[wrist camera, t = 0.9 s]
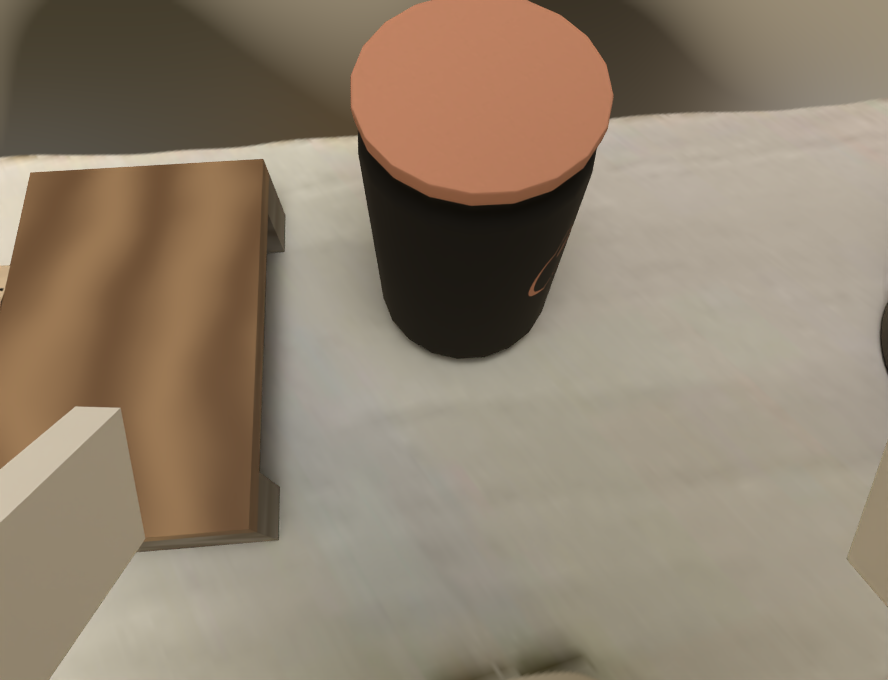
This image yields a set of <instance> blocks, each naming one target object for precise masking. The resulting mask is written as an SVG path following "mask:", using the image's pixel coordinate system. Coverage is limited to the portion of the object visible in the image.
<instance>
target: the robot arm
mask: <svg viewBox="0 0 888 680" xmlns="http://www.w3.org/2000/svg"><path fill="white" fill-rule="evenodd" d="M881 336H882V349H883V354H884V358H885V362H886V366H887V368H888V304H887V307H886V310H885V313H884V317H883V322H882V332H881ZM144 540H145V534H144V529H143V524H142V518H141V513H140V508H139V503H138V497H137V492H136V487H135V481H134V476H133V471H132V466H131V460H130V455H129V450H128V444H127V439H126V434H125V428H124V423H123V418H122V413H121V408H110V407H77V406H75V407H74V408H73V409H72V410H71V411H69V412H68V413H67V414H66V415H65V416H63V417H62V418H61V419H60V420H59V421H57V422H56V423H55V424H54V425H53V426H51V427H50V428H49V429H48V430H47V431H45V432H44V433H43V434H42V435H41V436H39V437H38V438H37V439H36V440H35V441H33V442H32V443H31V444H30V445H29V446H27V447H26V448H25V449H24V450H23V451H21V452H20V453H19V454H18V455H17V456H16V457H14V458H13V459H12V460H11V461H10V462H8V463H7V464H6V465H5V466H4V467H2V468H1V469H0V680H49V679H50V677H51V676H52V674H53V673H54V672H55V670H56V669H57V667H58V666H59V664H60V663H61V661H62V660H63V658H64V657H65V655H66V654H67V653H68V651H69V650H70V648H71V647H72V645H73V644H74V642H75V641H76V639H77V638H78V636H79V635H80V634H81V632H82V631H83V629H84V628H85V626H86V625H87V623H88V622H89V620H90V619H91V617H92V616H93V615H94V613H95V612H96V610H97V609H98V607H99V606H100V604H101V603H102V601H103V600H104V598H105V597H106V595H107V594H108V593H109V591H110V590H111V588H112V587H113V585H114V584H115V582H116V581H117V579H118V578H119V576H120V575H121V574H122V572H123V571H124V569H125V568H126V566H127V565H128V563H129V562H130V560H131V559H132V557H133V556H134V555H135V553H136V552H137V550H138V549H139V547H140V546H141V544H142V543H143V541H144ZM847 560H848V561H849V563H850V564H851V565H852V566H853V567H854V568H855V570H856V571H857V572H858V573H859V574H860V575H861V577H862V578H863V579H864V580H865V581H866V582H867V584H868V585H869V586H870V587H871V588H872V589H873V591H874V592H875V593H876V594H877V595H878V596H879V598H880V599H881V600H882V601H883V602H884V604H885V605H886V606H887V607H888V441H887V444H886V447H885V450H884V453H883V455H882V458H881V461H880V464H879V467H878V470H877V473H876V476H875V479H874V481H873V484H872V487H871V490H870V493H869V496H868V499H867V502H866V505H865V507H864V510H863V513H862V516H861V519H860V522H859V525H858V528H857V531H856V534H855V536H854V539H853V542H852V545H851V548H850V551H849V554H848V557H847Z"/></svg>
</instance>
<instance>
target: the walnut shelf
mask: <svg viewBox="0 0 888 680" xmlns="http://www.w3.org/2000/svg"><path fill="white" fill-rule="evenodd" d="M284 251H285V213H284V211H283V208H282V206H281V203H280V201H279V198H278V195H277V193H276V190H275V188H274V185H273V183H272V180H271V178H270V175H269V173H268V170H267V167H266V165H265V162H264V160H263V159H255V160H238V161H221V162H204V163H187V164H170V165H153V166H136V167H118V168H101V169H84V170H67V171H50V172H33V173H30V177H29V182H28V186H27V191H26V195H25V200H24V204H23V209H22V214H21V218H20V223H19V227H18V232H17V236H16V241H15V245H14V250H13V255H12V259H11V264H10V268H9V273H8V277H7V282H6V286H5V291H4V296H3V300H2V305H1V309H0V469H1V468H2V467H4V466H5V465H6V464H7V463H8V462H10V461H11V460H12V459H13V458H14V457H16V456H17V455H18V454H19V453H20V452H21V451H23V450H24V449H25V448H26V447H27V446H29V445H30V444H31V443H32V442H33V441H35V440H36V439H37V438H38V437H39V436H41V435H42V434H43V433H44V432H45V431H47V430H48V429H49V428H50V427H51V426H53V425H54V424H55V423H56V422H57V421H59V420H60V419H61V418H62V417H63V416H65V415H66V414H67V413H68V412H69V411H71V410H72V409H73V408H74V407H75V406H77V407H110V408H121V413H122V418H123V423H124V428H125V434H126V439H127V444H128V450H129V455H130V460H131V466H132V471H133V476H134V481H135V487H136V492H137V497H138V503H139V508H140V513H141V518H142V524H143V529H144V534H145V540H144V541H143V543H142V544H141V546H140V547H139V549H138V550H137V552H145V551H157V550H168V549H180V548H192V547H204V546H215V545H227V544H239V543H251V542H262V541H274V540H279V494H280V487H279V486H278V485H277V484H275V483H274V482H272V481H271V480H270V479H268V478H267V477H265V476H264V475H263V474H261V473H260V472H259V464H260V435H261V405H262V375H263V346H264V316H265V286H266V257H267V253H272V252H284Z"/></svg>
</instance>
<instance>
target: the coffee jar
mask: <svg viewBox="0 0 888 680" xmlns="http://www.w3.org/2000/svg"><path fill="white" fill-rule="evenodd" d="M612 102H613V92H612V88H611V83H610V79H609V74H608V70H607V66H606V63H605V62H604V60H603V59H602V57H601V56H600V54H599V53H598V51H597V50H596V48H595V47H594V45H593V44H592V42H591V41H590V40H589V38H588V37H587V36H586V35H585V34H584V33H582V32H581V31H580V30H579V29H577V28H576V27H575V26H574V25H572V24H571V23H570V22H568V21H567V20H566V19H565V18H563V17H562V16H561V15H559V14H557V13H554V12H552V11H550V10H548V9H545V8H543V7H541V6H538V5H536V4H534V3H532V2H529V1H527V0H431V1H427V2H423V3H420V4H416V5H414V6H412V7H411V8H409V9H408V10H406V11H404V12H402V13H400V14H399V15H397V16H395V17H393V18H392V19H390V20H388V21H386V22H385V23H384V24H383V25H382V26H381V28H379V30H378V31H377V32H376V33H375V34H374V35H373V36H372V37H371V38H370V39H369V40H368V41H367V42H366V43H365V45H364V46H363V47H362V50H361V52H360V55H359V57H358V60H357V62H356V64H355V67H354V69H353V72H352V74H351V111H352V114H353V118H354V121H355V123H356V125H357V128H358V155H359V160H360V166H361V172H362V177H363V183H364V189H365V194H366V200H367V206H368V211H369V217H370V223H371V229H372V234H373V240H374V246H375V251H376V257H377V263H378V268H379V274H380V280H381V285H382V291H383V297H384V300H385V303H386V305H387V308H388V310H389V312H390V315H391V317H392V320H393V321H394V322H395V324H396V325H397V326H398V327H399V328H400V329H401V330H402V331H403V333H404V334H405V335H406V336H407V337H408V338H409V339H410V340H412V341H413V342H415V343H417V344H418V345H420V346H422V347H424V348H425V349H427V350H429V351H430V352H433V353H437V354H441V355H445V356H450V357H454V358H473V357H486V356H488V355H491V354H493V353H496V352H499V351H501V350H504V349H507V348H509V347H511V346H512V345H513V344H514V343H516V342H517V341H518V340H519V339H521V338H522V337H523V336H524V335H526V334H527V333H528V332H529V331H530V329H531V328H532V326H533V324H534V323H535V321H536V320H537V318H538V316H539V315H540V313H541V311H542V309H543V306H544V303H545V300H546V298H547V295H548V292H549V289H550V287H551V284H552V281H553V278H554V276H555V273H556V270H557V268H558V265H559V262H560V259H561V257H562V254H563V251H564V248H565V246H566V243H567V240H568V237H569V235H570V232H571V229H572V226H573V224H574V221H575V218H576V215H577V213H578V210H579V207H580V204H581V202H582V199H583V196H584V193H585V191H586V188H587V185H588V182H589V180H590V177H591V174H592V171H593V166H594V160H595V155H596V150H597V147H598V145H599V144H600V142H601V141H602V139H603V137H604V135H605V133H606V131H607V129H608V124H609V119H610V113H611V107H612Z"/></svg>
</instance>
